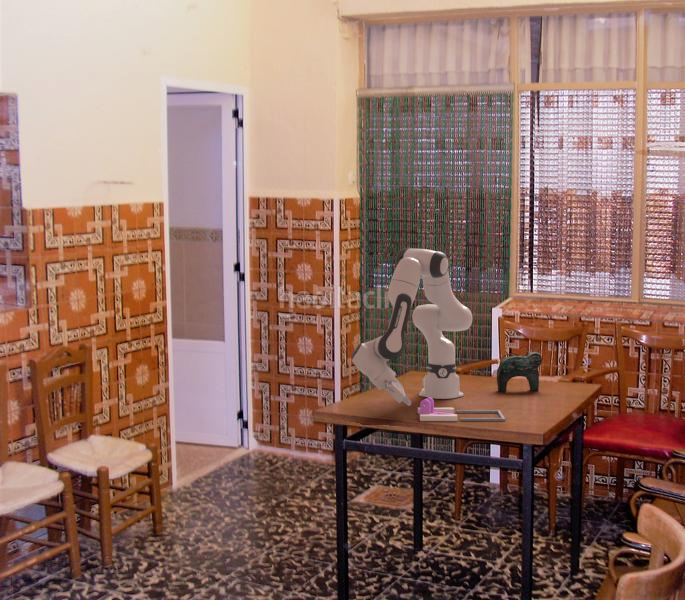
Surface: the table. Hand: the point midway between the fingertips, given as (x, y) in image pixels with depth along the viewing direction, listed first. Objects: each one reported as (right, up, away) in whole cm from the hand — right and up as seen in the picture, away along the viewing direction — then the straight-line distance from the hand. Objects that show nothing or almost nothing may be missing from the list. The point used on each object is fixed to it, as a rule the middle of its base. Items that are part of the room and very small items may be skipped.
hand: (410, 404), depth 376 cm
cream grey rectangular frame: (+19, -5, 0) cm, 20 cm away
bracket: (+11, -5, 0) cm, 12 cm away
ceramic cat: (+51, 0, +51) cm, 73 cm away
